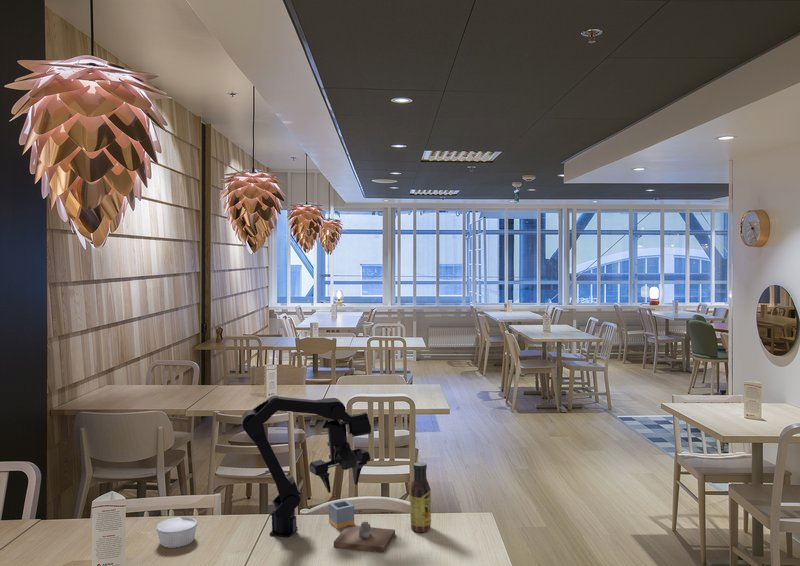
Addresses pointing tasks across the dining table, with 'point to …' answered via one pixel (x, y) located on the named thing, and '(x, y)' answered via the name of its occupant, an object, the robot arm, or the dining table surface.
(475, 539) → the dining table surface
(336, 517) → the sleeve
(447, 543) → the dining table surface
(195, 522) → the ramekin
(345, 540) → the pin board
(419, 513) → the sauce bottle
